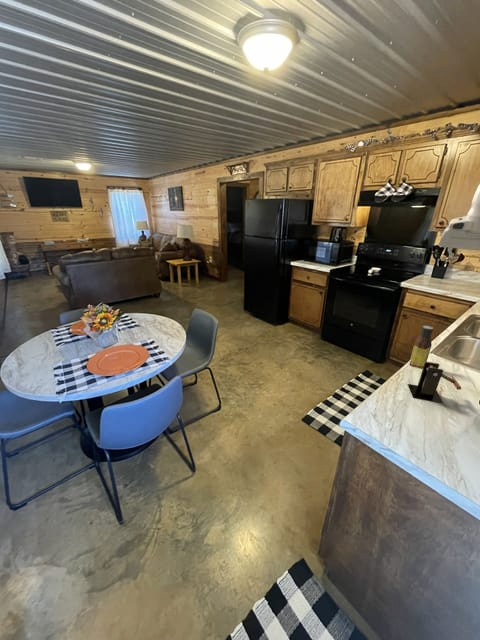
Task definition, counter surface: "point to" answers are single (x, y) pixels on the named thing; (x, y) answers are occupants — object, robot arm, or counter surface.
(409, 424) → the counter surface
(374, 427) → the counter surface
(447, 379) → the lever
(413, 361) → the sauce bottle
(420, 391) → the bracket
